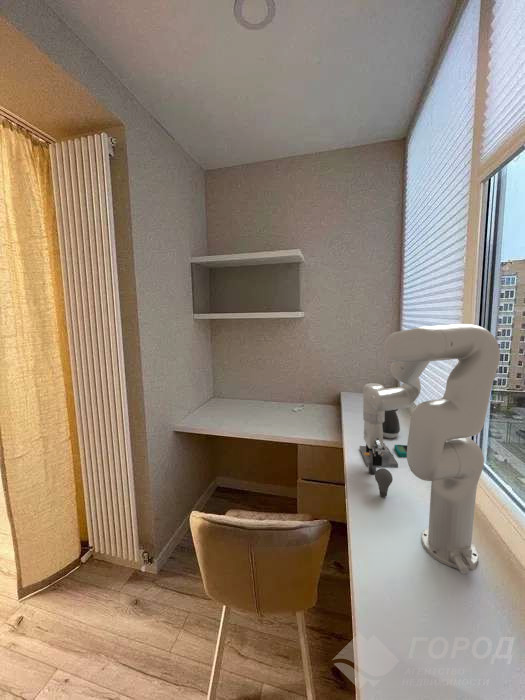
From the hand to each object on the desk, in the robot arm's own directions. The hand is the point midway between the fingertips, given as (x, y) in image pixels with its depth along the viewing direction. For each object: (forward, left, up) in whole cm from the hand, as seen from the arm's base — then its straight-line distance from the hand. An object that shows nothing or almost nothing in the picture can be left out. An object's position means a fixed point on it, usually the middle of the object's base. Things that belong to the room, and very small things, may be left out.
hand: (373, 458), depth 108 cm
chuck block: (+13, -5, -6) cm, 15 cm away
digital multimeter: (+16, -21, -7) cm, 27 cm away
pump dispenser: (+33, -16, -7) cm, 37 cm away
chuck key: (+1, 0, -6) cm, 6 cm away
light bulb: (-13, 0, -7) cm, 15 cm away
